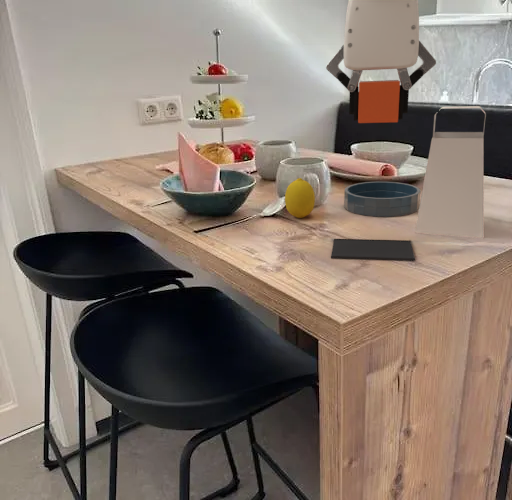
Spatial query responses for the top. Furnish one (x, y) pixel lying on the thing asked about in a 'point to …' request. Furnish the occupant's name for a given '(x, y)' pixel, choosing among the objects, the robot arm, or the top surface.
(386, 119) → the cube
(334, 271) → the top surface
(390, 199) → the bowl
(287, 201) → the lemon
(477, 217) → the grater
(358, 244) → the mat
